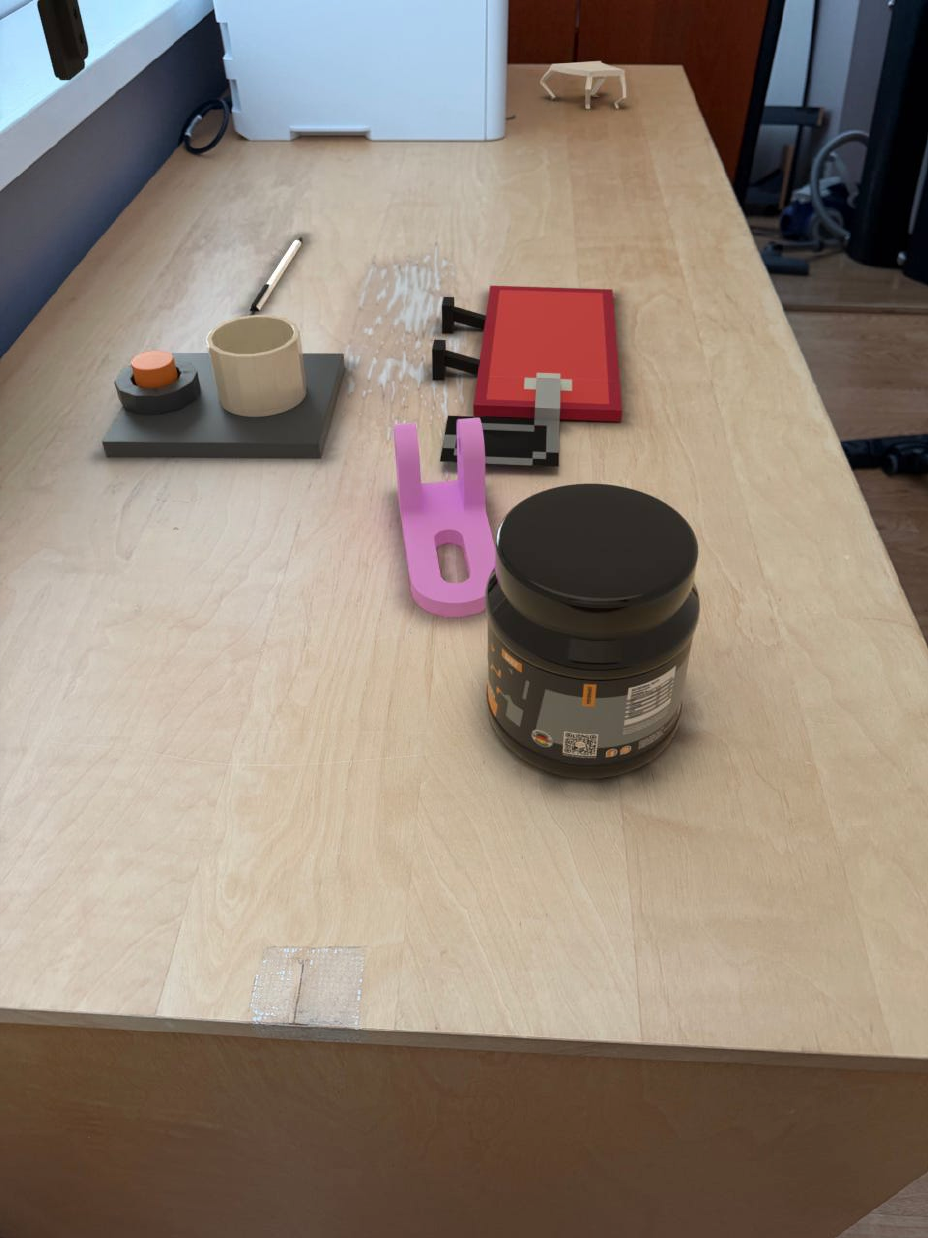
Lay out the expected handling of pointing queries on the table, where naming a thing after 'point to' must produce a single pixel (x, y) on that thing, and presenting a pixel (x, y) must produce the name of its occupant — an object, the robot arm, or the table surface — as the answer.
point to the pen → (275, 277)
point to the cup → (257, 365)
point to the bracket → (445, 521)
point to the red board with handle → (534, 369)
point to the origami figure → (588, 77)
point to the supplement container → (590, 628)
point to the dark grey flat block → (220, 416)
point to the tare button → (154, 369)
